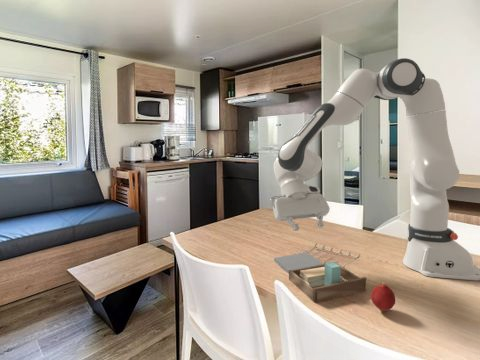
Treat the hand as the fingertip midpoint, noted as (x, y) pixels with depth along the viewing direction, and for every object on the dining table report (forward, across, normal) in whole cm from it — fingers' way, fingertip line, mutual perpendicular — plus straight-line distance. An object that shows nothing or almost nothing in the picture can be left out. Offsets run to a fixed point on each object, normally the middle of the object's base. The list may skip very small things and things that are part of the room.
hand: (309, 228), depth 101 cm
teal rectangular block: (+20, 0, +2) cm, 20 cm away
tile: (+7, 0, +15) cm, 17 cm away
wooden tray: (+18, 0, +4) cm, 18 cm away
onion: (+30, +6, -8) cm, 32 cm away
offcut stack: (+15, 0, +7) cm, 17 cm away
